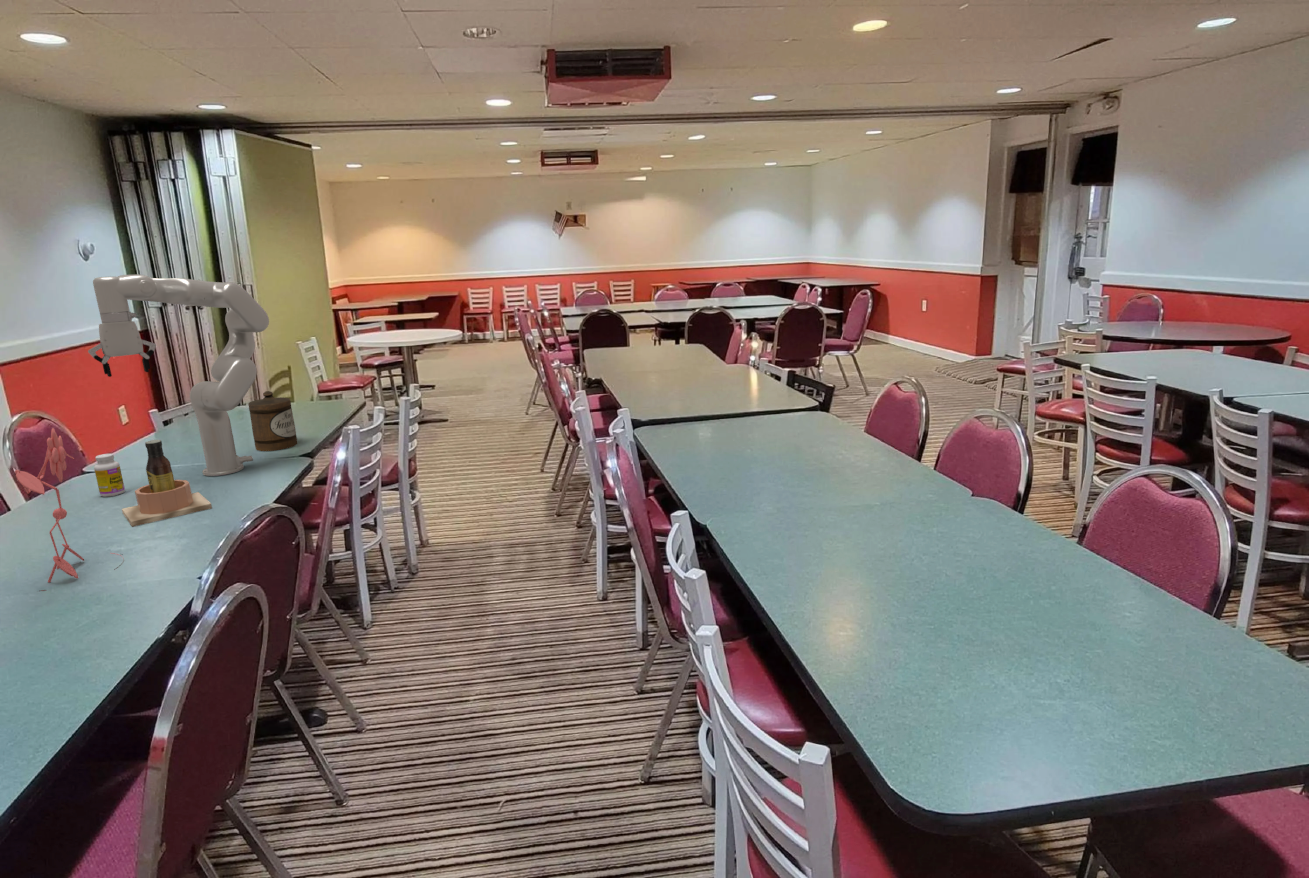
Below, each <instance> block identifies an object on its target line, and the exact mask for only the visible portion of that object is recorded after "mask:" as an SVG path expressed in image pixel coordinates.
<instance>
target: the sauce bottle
mask: <svg viewBox="0 0 1309 878" xmlns="http://www.w3.org/2000/svg"><path fill="white" fill-rule="evenodd" d="M144 445H145V448H146V450H147V463H146V466H145V471H146V476H147V481H148V485H149V486H150V491H151V493H157V492H164V491H168V490H173V489H176V487H175V482H174V480H175V478H174V477H175V476H174V473H173V469H172V465H171V462H170V460H169V458H167V457H166V456H165V454H164V450H163V441H162V439H152V440H147V441H145V442H144Z"/></svg>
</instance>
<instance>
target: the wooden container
mask: <svg viewBox="0 0 1309 878" xmlns="http://www.w3.org/2000/svg"><path fill="white" fill-rule="evenodd" d="M262 395H263V398H261V399H257V400H253V401H250V402H248V411H249V416H250V423H251V429H252V436H253V440H254V447H255V450H256V451H257V452H258V451H259V452H274V451H277V452H278V451H282V450H286V449H290V448H294V447H295V446H296V445H297V446H298V437H297V431H296V424H295V419H294V414H293V409H292V402H291V401H292V400H291V398H290V397H284V396H283V397H274V396H273V391H271V390H268V391H267V390H266V391H264V392H263V394H262Z"/></svg>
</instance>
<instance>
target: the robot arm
mask: <svg viewBox="0 0 1309 878" xmlns="http://www.w3.org/2000/svg"><path fill="white" fill-rule="evenodd" d="M92 285H93V290H94V293H95V298H96V303H97V307H98V311H99V317H100V320H101V321H100V322H101V323H99V324H98V333H99V342H100V343H98V344H97V345H95V346H92V348H89V349H88V351H87V352H88V354H89V355H90V356H91V357H92V358H93V359H94V360H96V361H98V362H99V363H100V364H102V368H103V372H104V375H107V377H108V378H111V377H112V371H111V366H110V363H108V361H109V360H110V359H111V357H112V358H113V357H124V356H125V357H126V356H133V355H140V357H142V359H141V360H142V361H141V362H142V367H143V369H144V372H146V373H150V371H149V370H151V364H150V358H151V357H152V355H153V354H154V352H155V350H156V347H157V344H156V343H154V342H152V341H151V342H150V341H147V340H145V339H142V338H141V334H140V332H139V329H138V326H137V323H136V322H135V321H134V320H133V319H134V318H137V312H131V310H130V307H129V301H143V302H152V303H164V304H171V305H180V306H181V305H182V306H196V307H204V308H205V307H207V308H217V309H218V308H220V309H223V308H224V309H225V308H226V309H228V308H229V310H227V312H226V314H225V317H224V318H225V320H224V321H225V325H226V327H227V331H228V335H229V336H228V341H227V343H226V345H225V346H224V348H223V349H222V351H221V352H220V354H219V355H218V356H217V358H216V359H215V360H214V362H213V364H212V366H211V369H210V374H211V377H212V378H213V379H214V380H215V381H208V380H207V381H205V380H204V381H200V382H198V383H196V384H195V385H193V386H192V387H191V389H190V392H189V401H190V404H191V406H192V408H193V411H194V414H195V416H196V420H197V425H198V431H199V435H200V440H201V446H202V450H203V456H204V460H205V465H206V468H204V469H203V470H202V472H201V473H202V475H203V476H207V477H218V476H224V475H230V474H234V473H237V472H240V471H242V470H244V468H245V467H244V463H246V462H247V463H248V462H252V461H254V457H253V456H252V455H242V456H239V455H237V450H236V446H235V445H236V444H235V440H234V433H233V429H232V423H231V419H230V415H229V414H228V411H232V410H234V409H235V408H237V406H239V405H240V404H241V402H242V401H243V399H244V398H245V396H246V395H247V393H248V391H249V390H250V389H251V387H252V385H253V384H254V382H255V380H256V378H257V372H258V371H257V366H256V363H255V362H254V361H253V360H252V359H251V358H252V356H253V355H254V352H255V350H256V342H255V341H256V340H255V337H254V333H261V332H264V331H265V330H266V329H267V328H268V327H269V324H270V318H269V316H268V313H267V312H266V311H265V309H264V308H263V306H261V305H260V304H259V303H258V302H257V301H256V299H255V298H254V297H252V295H251V294H250V293H248V291H246V289H245V288H244V287H242V286H241V285H239V284H237V283H236V282H229V281H228V282H225V281H224V282H219V281H217V282H216V281H209V280H198V279H191V278H183V277H180V278H178V277H174V278H173V277H171V278H155V277H154V278H153V277H150V276H148V275H145V274H120V275H117V276H98V277H94V279H93V281H92ZM144 345H145V346H148V347H149V348H148V350H147V351H146V352H144ZM99 350H101V352H102V353H103V356H102V357H100V356H99V355H98V354H97V353H96V352H97V351H99Z"/></svg>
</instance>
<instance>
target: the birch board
mask: <svg viewBox="0 0 1309 878" xmlns="http://www.w3.org/2000/svg"><path fill="white" fill-rule="evenodd" d="M191 493H192V498H193V502H192V503H191V504H190V505H189V506H187V507H184V508H181V509H179V510H175V511H170V512H166V513H158V514H142V513H141V512H140V511H139V508H138V504H137V505H134V506H129V507H124V508H121V512H122V514H123V516H124V517H125V519H126V521H128V523H129V524H130V527H132V528H133V527H137V526H142V525H147V524H151V523H155V522H160V521H162V520H163V521H164V520H167V519H173V518H176V517H181V516H185V515H189V514H194V513H198V512H203V511H207V510H211V509H213V507H212V503H211V502H210V501H209V500H208V499H207V498H206V497H205V496H203V495H202V494H201V493H200V492H199V491H198V492H191Z"/></svg>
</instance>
